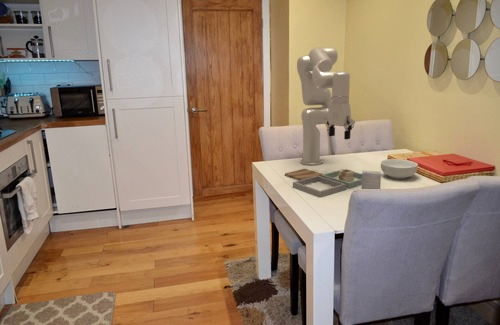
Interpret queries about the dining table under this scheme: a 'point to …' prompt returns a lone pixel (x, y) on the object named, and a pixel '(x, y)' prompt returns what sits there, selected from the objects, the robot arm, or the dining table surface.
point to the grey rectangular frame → (336, 188)
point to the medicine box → (371, 179)
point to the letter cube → (346, 175)
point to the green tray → (348, 184)
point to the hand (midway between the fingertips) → (339, 137)
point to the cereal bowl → (399, 168)
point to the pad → (302, 174)
